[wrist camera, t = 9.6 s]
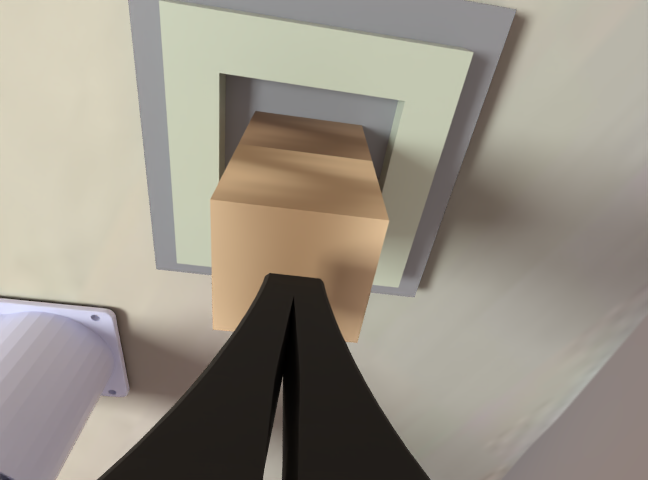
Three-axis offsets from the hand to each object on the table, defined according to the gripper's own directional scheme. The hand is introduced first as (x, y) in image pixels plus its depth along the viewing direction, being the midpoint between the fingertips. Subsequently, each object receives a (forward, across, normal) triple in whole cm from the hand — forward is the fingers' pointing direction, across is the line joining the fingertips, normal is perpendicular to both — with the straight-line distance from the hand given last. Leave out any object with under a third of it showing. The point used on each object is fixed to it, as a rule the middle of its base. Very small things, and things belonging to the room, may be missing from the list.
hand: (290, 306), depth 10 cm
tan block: (+9, 0, 0) cm, 9 cm away
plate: (+10, 0, 0) cm, 10 cm away
